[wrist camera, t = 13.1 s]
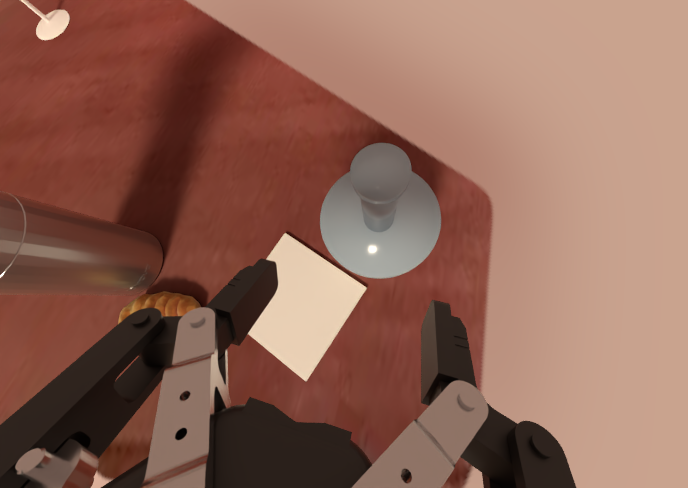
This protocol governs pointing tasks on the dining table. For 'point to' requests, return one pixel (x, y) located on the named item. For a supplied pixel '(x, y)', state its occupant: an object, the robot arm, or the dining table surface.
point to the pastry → (161, 304)
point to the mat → (304, 307)
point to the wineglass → (50, 22)
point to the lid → (380, 215)
